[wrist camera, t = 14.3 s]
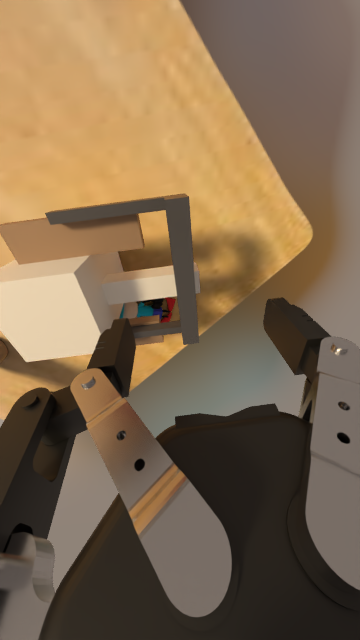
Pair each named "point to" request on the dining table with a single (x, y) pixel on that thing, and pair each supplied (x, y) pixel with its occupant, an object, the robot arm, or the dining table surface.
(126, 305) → the toy figure
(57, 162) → the dining table surface
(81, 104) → the dining table surface
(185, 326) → the grey u-shaped bracket
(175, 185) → the dining table surface
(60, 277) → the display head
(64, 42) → the dining table surface
